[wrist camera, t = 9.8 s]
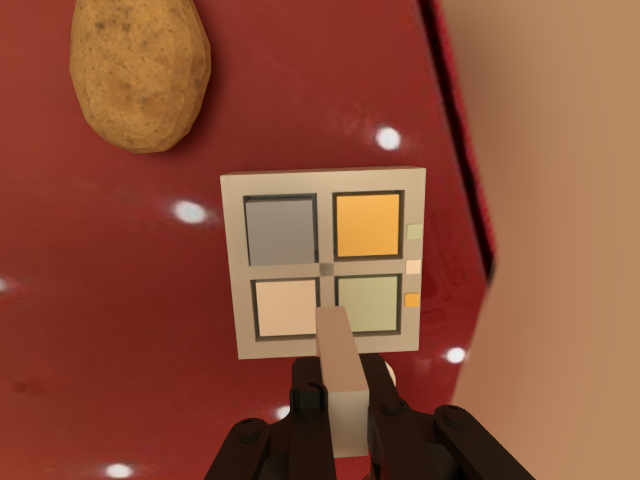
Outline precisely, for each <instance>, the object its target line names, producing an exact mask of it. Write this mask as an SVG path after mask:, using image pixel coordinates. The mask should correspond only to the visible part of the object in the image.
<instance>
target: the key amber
mask: <svg viewBox="0 0 640 480" xmlns="http://www.w3.org/2000/svg"><path fill="white" fill-rule="evenodd" d="M334 200H335V244H336V251H337V255H338V257H341V256H365V255H388V254H398V217H399V194H397V193H395V192H393V191H371V192H344V193H334Z"/></svg>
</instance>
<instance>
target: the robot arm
mask: <svg viewBox="0 0 640 480" xmlns="http://www.w3.org/2000/svg"><path fill="white" fill-rule="evenodd" d="M315 316H316V355H317V357H306V358H297V359H296V360H295V362H294V363H293V365H292V388H291V389H290V393H289V399H290V412H289V413H288V415H287V416H286V417H285V418H283V419H282V420H280V421H278V422H276V423H273V424H270V425H268V424H267V423H266V422H265V421H264V420H262V419H258V418H248V419H245V420H241V421H240V422H238V423H237V424H235V425H234V426H233V428H232V429H231V430H230V432H229V434H228V435H227V437H226V439H225V441H224V443H223V445H222V447H221V448H220V450H219V452H218V454H217V456H216V458H215V460H214V461H213V463H212V465H211V467H210V469H209V471H208V473H207V474H206V476H205V478H204V480H337V478H336V470H335V462H334V458H339V457H354V456H368V446H369V450H370V455H371V468H370V480H536V479H534V477H533V476H531V474H530V473H529V472H528V471H526V470H525V468H524V467H523V466H522V465H521V464H520V463H519V462H518V461H517V460H516V459H514V457H513V456H512V455H511V454H510V453H509V452H508V451H507V450H506V449H505V448H504V447H503V446H502V445H501V444H500V443H499V442H498V441H497V440H496V439H495V438H494V437H493V436H492V435H491V434H490V433H489V432H488V431H487V430H486V429H485V428H484V427H483V426H482V425H481V424H480V423H479V422H478V421H477V420H476V419H475V418H474V417H473V416H472V415H471V414H470V413H469V412H467V411H466V410H465V409H463V408H460V407H458V406H454V405H442V406H440V407H438V408H436V410H435V411H434V415H432V414H426V413H421V412H417V411H415V410H412V409H410V407H409V405H408V404H407V403H406V401H404V400H403V399H402V398H400V397H399V395H398V392H397V390H396V387H395V385H394V382H393V380H392V377H391V375H390V373H389V370H388V369H387V365H386V363H385V360H384V359H383V358H382V357H381V356H380V355H378V354H377V353H366V354H358V351H357V347H356V344H355V341H354V337H353V334H352V331H351V327H350V324H349V320H348V317H347V314H346V310H345V307H344V306H331V307H315Z"/></svg>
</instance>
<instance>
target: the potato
mask: <svg viewBox="0 0 640 480" xmlns="http://www.w3.org/2000/svg"><path fill="white" fill-rule="evenodd" d="M210 73H211V51H210V43H209V40H208V38H207V35H206V32H205V30H204V27H203V25H202V22H201V20H200V17H199V14H198V12H197V9H196V7H195V4H194V2H193V0H77V1H76V5H75V10H74V15H73V22H72V30H71V38H70V74H71V77H72V81H73V84H74V88H75V91H76V95H77V98H78V101H79V103H80V106H81V109H82V112H83V114H84V117H85V120H86V122H87V123H88V124H89V125H90V126H91V127H92V128H93V129H94V130H95V131H96V132H97V133H98V134H99V135H100V136H101V137H102V138H103V139H104V140H105V141H106V142H109V143H111V144H113V145H115V146H118V147H120V148H122V149H125V150H127V151H129V152H132V153H134V154H140V153H151V152H162V151H166V150H168V149H170V148H172V147H173V146H174V145H175V144H176V143H178V142H179V141H180V140H181V139H182V138H183V137H184V136H185V135H187V134H188V133H189V131H190V129H191V127H192V125H193V123H194V121H195V119H196V117H197V115H198V113H199V111H200V108H201V104H202V101H203V98H204V94H205V91H206V88H207V84H208V81H209V77H210Z"/></svg>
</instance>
